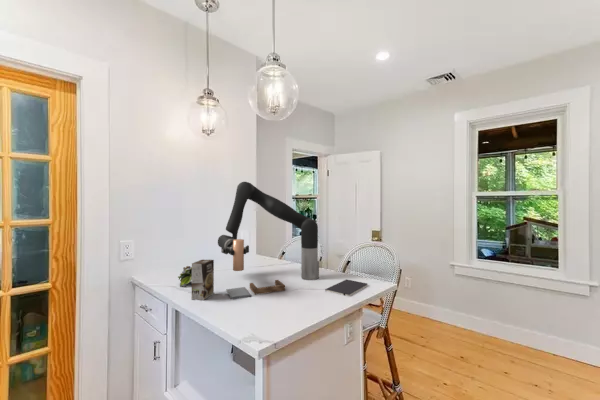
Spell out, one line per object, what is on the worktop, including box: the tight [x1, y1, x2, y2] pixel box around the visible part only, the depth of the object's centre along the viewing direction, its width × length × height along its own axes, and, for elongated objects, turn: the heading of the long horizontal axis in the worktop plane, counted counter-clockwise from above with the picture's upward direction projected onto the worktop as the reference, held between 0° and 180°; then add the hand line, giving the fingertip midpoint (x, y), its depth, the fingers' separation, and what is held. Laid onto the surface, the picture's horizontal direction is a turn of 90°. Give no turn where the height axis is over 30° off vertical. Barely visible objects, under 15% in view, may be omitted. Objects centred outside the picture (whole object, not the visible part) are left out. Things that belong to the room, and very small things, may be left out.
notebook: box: [325, 279, 368, 297], centre depth 144 cm, size 13×2×21 cm
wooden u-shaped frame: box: [249, 279, 286, 295], centre depth 142 cm, size 15×10×2 cm
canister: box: [232, 238, 245, 272], centre depth 135 cm, size 5×5×14 cm
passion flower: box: [177, 265, 192, 288], centre depth 150 cm, size 11×11×12 cm
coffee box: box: [191, 259, 215, 301], centre depth 131 cm, size 9×6×16 cm
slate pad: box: [225, 286, 252, 300], centre depth 135 cm, size 9×12×1 cm
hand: (239, 252), depth 133 cm, fingers closed on canister, 5 cm apart
